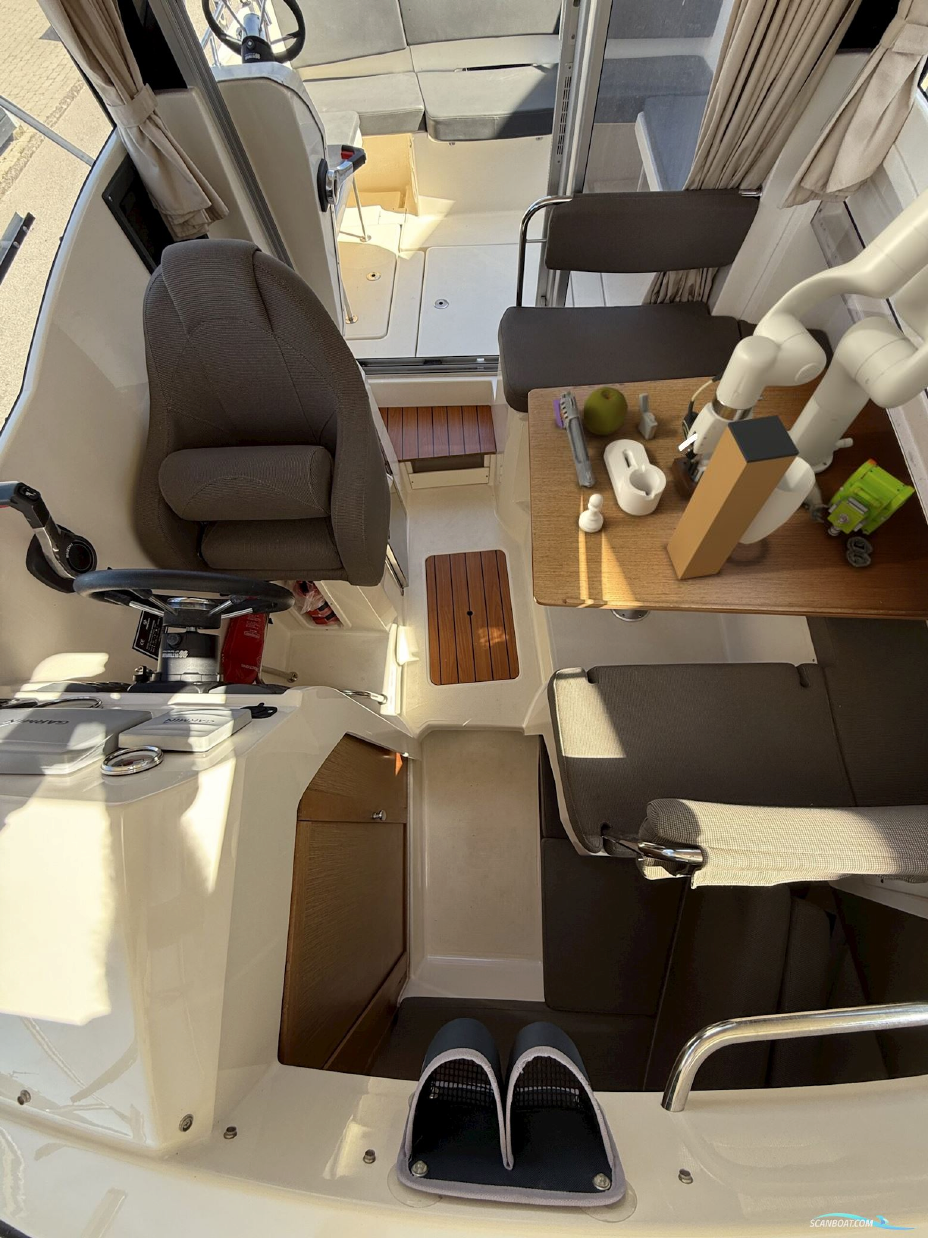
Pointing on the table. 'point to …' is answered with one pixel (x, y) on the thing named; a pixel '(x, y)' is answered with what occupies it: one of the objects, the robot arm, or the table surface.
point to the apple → (605, 410)
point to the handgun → (574, 436)
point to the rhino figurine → (815, 503)
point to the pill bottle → (701, 467)
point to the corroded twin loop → (859, 551)
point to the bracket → (633, 477)
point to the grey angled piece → (646, 417)
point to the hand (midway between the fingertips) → (701, 468)
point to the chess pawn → (592, 515)
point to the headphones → (691, 414)
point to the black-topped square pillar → (730, 494)
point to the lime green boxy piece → (866, 500)
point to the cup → (782, 501)
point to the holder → (683, 477)
